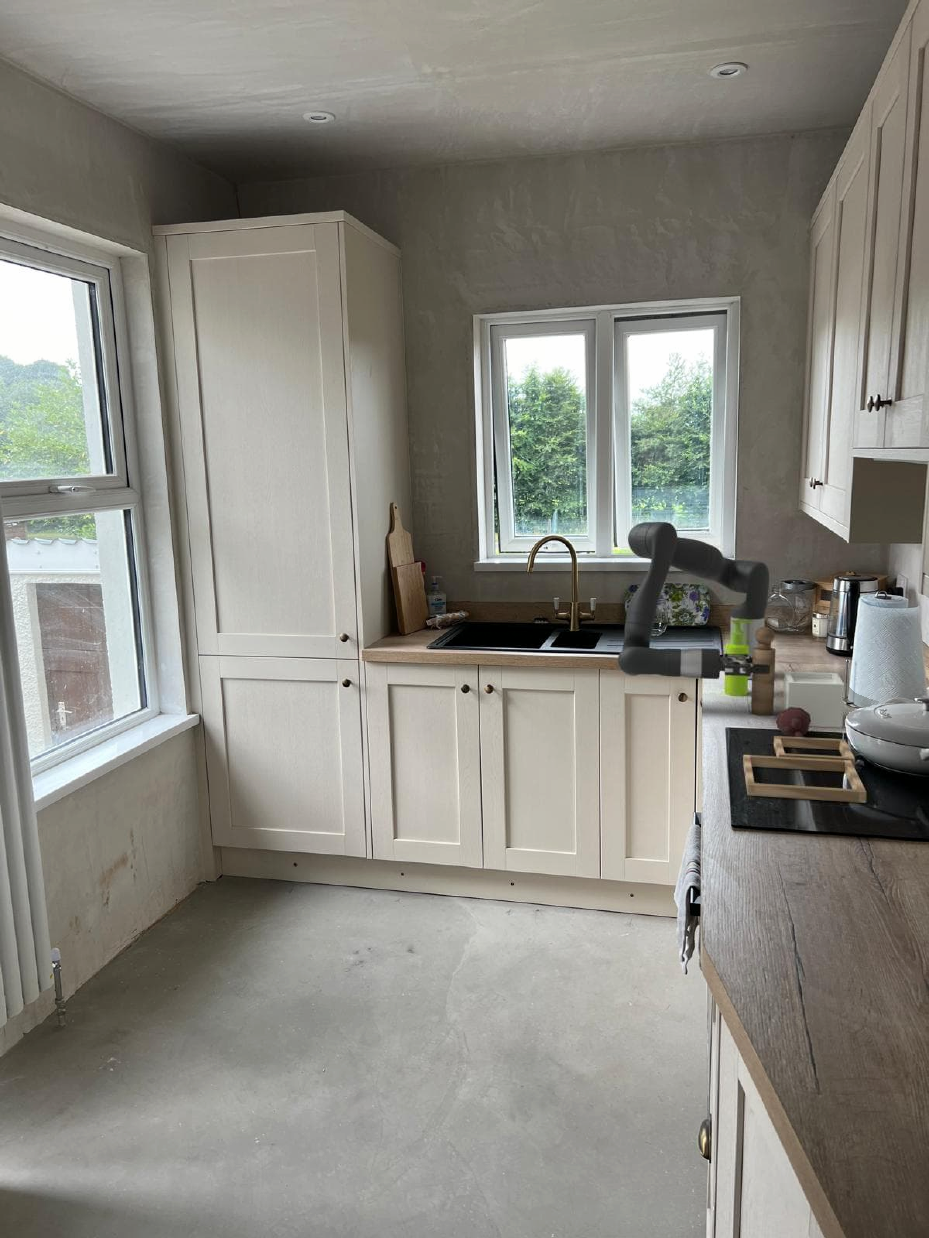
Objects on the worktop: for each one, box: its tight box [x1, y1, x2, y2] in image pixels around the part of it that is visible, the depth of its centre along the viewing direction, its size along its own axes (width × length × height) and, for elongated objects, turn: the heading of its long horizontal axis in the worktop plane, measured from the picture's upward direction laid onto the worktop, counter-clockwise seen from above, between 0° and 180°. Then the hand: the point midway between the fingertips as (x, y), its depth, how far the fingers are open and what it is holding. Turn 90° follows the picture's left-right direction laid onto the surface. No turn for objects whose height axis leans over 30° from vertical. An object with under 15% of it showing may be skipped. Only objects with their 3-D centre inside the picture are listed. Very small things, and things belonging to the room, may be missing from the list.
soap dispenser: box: [723, 619, 754, 697], centre depth 242 cm, size 6×7×20 cm
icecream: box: [775, 707, 811, 737], centre depth 204 cm, size 7×8×15 cm
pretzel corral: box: [742, 754, 867, 804], centre depth 175 cm, size 18×20×2 cm
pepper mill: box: [750, 626, 776, 717], centre depth 222 cm, size 5×5×22 cm
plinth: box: [782, 670, 845, 729], centre depth 217 cm, size 12×12×10 cm
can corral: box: [773, 735, 856, 768], centre depth 191 cm, size 13×14×2 cm
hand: (768, 665), depth 222 cm, fingers open, 8 cm apart
